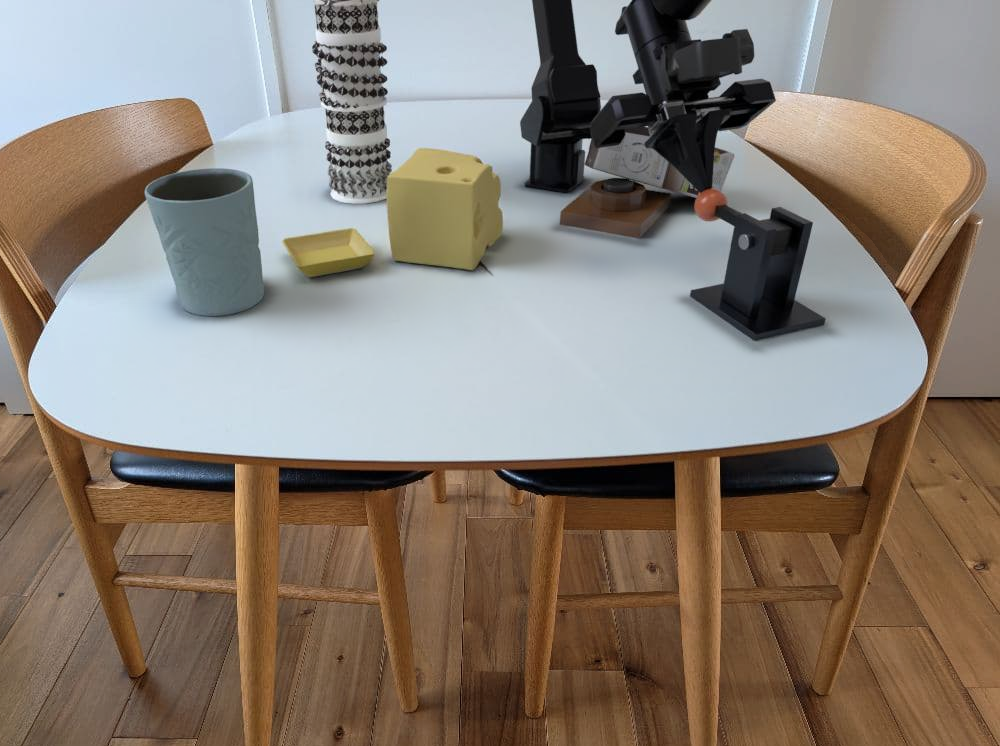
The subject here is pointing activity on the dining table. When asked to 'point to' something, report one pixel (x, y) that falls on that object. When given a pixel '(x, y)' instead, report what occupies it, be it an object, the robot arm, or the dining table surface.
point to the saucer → (329, 252)
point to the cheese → (443, 209)
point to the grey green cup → (209, 238)
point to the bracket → (762, 279)
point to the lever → (715, 207)
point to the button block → (616, 210)
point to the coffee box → (651, 164)
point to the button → (618, 185)
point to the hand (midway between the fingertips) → (706, 190)
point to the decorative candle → (353, 98)
